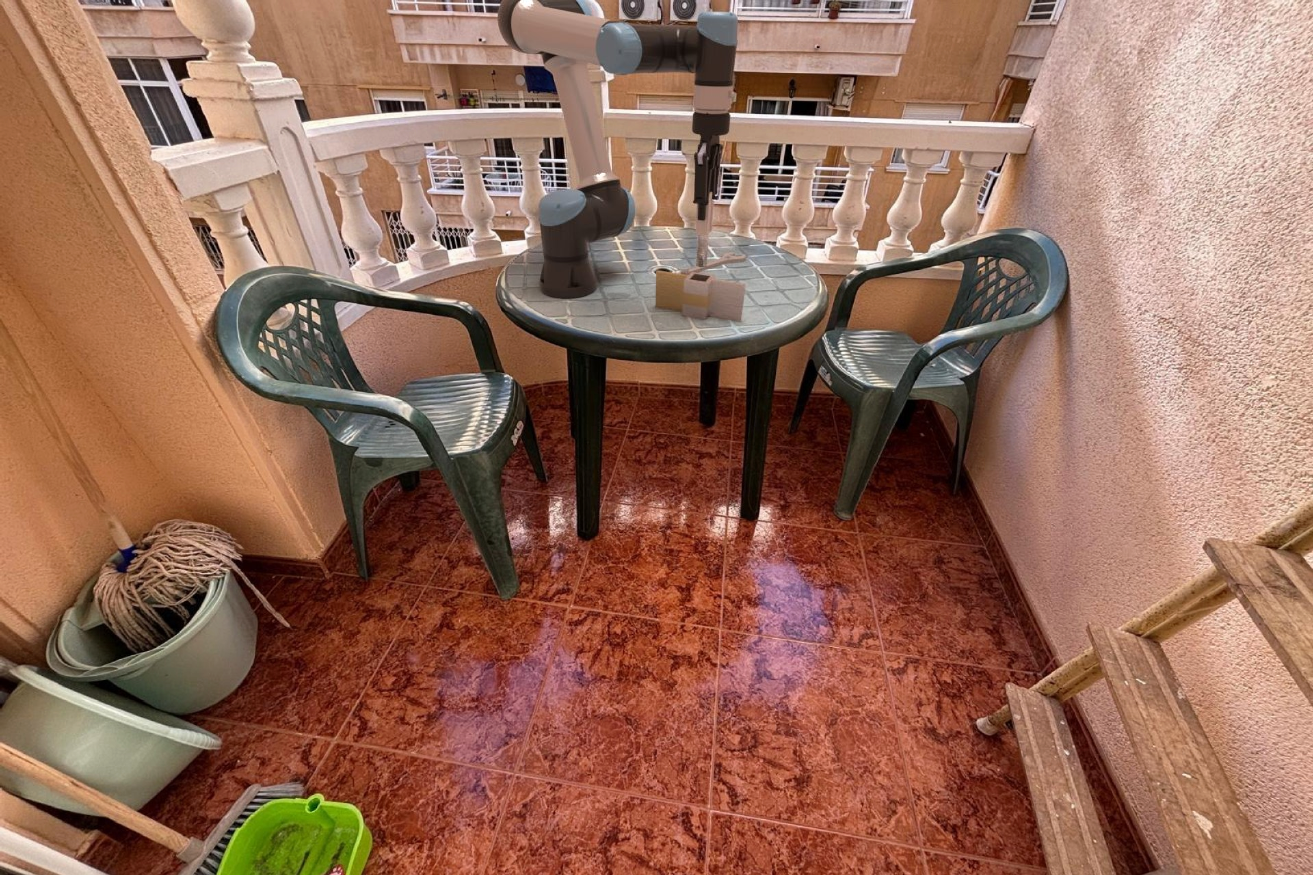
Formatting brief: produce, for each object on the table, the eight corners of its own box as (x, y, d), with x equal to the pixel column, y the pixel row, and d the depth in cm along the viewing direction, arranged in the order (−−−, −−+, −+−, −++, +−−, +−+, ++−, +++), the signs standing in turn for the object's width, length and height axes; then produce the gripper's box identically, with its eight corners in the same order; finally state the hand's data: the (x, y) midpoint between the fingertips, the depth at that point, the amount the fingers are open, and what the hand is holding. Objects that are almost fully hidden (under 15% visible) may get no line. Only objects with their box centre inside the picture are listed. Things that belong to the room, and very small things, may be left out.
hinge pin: (694, 266, 124) (699, 192, 114) (697, 263, 126) (702, 190, 116) (704, 267, 123) (710, 193, 113) (707, 264, 125) (713, 191, 115)
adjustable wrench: (684, 278, 152) (685, 272, 151) (671, 271, 156) (671, 265, 155) (748, 261, 164) (749, 256, 162) (734, 255, 168) (734, 250, 167)
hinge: (651, 310, 132) (652, 275, 127) (660, 301, 137) (661, 267, 131) (737, 325, 126) (742, 289, 121) (743, 315, 131) (748, 280, 125)
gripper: (719, 116, 99) (709, 244, 113) (739, 108, 110) (728, 225, 125) (681, 114, 101) (676, 240, 115) (705, 106, 112) (697, 222, 127)
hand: (703, 232), depth 120 cm, fingers closed on hinge pin, 2 cm apart
